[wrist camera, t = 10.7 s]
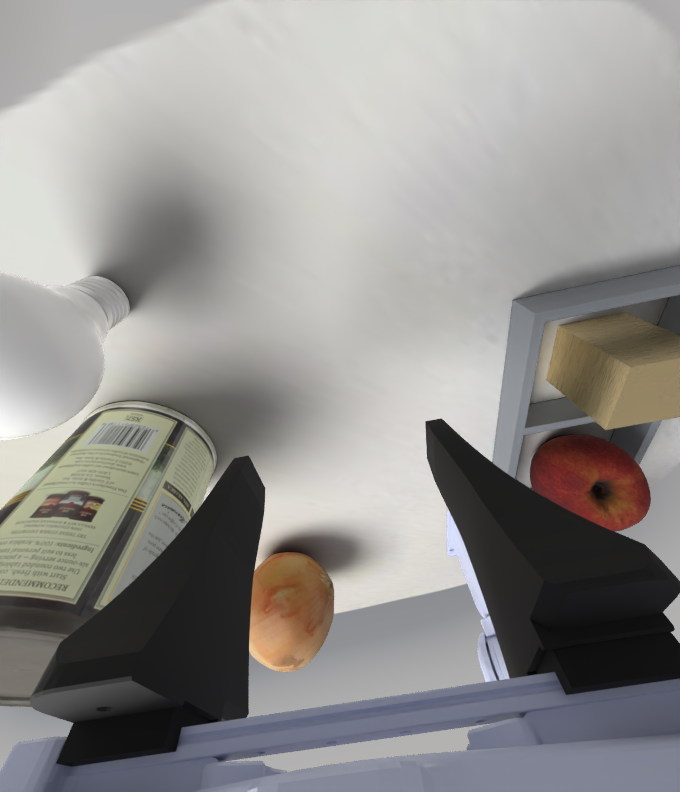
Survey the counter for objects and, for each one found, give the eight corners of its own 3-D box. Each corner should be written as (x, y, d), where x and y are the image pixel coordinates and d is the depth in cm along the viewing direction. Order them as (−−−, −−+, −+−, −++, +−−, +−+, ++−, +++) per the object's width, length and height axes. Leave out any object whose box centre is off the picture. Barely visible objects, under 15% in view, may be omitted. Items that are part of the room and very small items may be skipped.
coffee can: (130, 502, 29) (5, 719, 17) (48, 416, 23) (-225, 656, 11) (238, 480, 28) (184, 690, 16) (182, 386, 22) (38, 608, 11)
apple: (604, 404, 26) (703, 480, 19) (590, 466, 30) (667, 544, 24) (514, 428, 27) (580, 508, 20) (513, 484, 31) (566, 565, 25)
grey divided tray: (600, 480, 32) (620, 500, 30) (487, 500, 32) (499, 521, 30) (694, 262, 20) (738, 271, 18) (512, 300, 20) (535, 313, 18)
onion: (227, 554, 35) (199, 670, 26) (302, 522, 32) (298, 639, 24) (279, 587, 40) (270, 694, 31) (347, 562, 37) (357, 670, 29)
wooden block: (605, 368, 24) (680, 416, 19) (545, 379, 24) (605, 430, 19) (624, 312, 21) (717, 351, 17) (558, 325, 22) (630, 367, 17)
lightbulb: (36, 219, 16) (-321, 266, 7) (169, 258, 18) (14, 338, 8) (57, 331, 19) (-169, 461, 10) (167, 356, 21) (54, 489, 12)
